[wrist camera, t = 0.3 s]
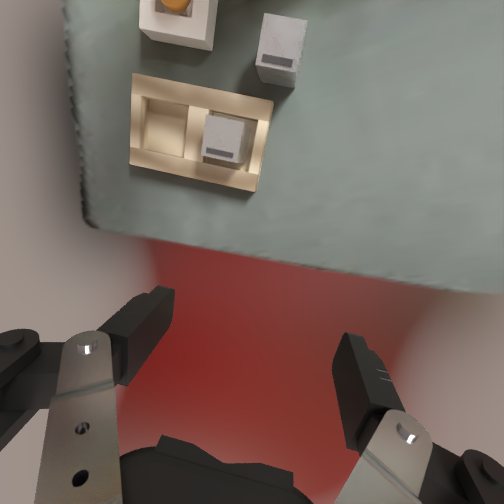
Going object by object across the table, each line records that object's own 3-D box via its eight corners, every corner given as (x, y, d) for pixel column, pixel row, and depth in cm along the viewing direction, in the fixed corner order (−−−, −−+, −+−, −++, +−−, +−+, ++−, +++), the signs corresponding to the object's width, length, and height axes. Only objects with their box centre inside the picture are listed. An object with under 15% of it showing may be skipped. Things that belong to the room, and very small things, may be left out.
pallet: (142, 78, 34) (132, 72, 32) (273, 105, 33) (272, 100, 31) (139, 164, 38) (129, 164, 36) (256, 190, 37) (254, 191, 35)
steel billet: (268, 40, 31) (264, 11, 25) (304, 46, 31) (308, 19, 25) (261, 81, 32) (255, 64, 27) (295, 88, 32) (296, 71, 26)
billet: (219, 122, 34) (205, 113, 28) (251, 128, 34) (243, 121, 28) (214, 156, 36) (200, 155, 30) (245, 163, 35) (236, 163, 30)
